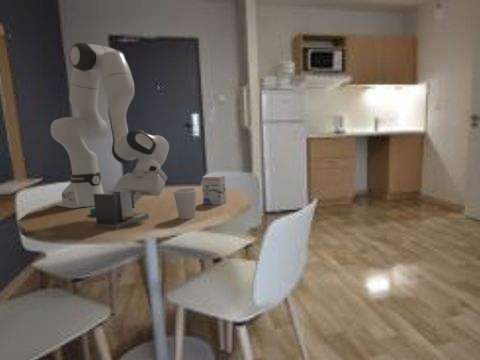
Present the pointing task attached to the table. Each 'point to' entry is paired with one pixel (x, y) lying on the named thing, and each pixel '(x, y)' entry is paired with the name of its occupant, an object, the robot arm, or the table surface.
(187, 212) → the dixie cup
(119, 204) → the tall grey rectangular prism
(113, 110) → the robot arm
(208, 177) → the ink box
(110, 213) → the gauge bed
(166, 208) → the table surface
